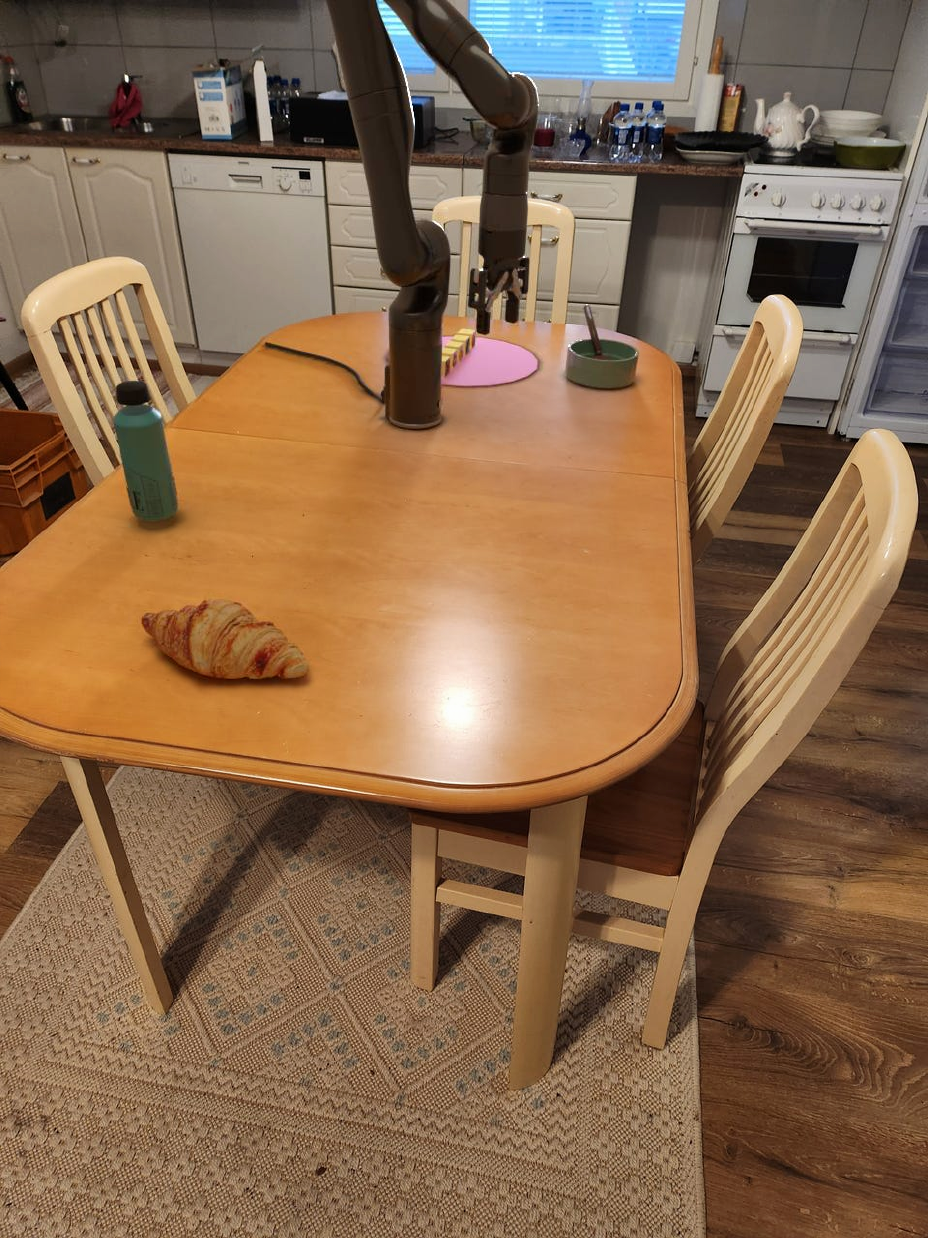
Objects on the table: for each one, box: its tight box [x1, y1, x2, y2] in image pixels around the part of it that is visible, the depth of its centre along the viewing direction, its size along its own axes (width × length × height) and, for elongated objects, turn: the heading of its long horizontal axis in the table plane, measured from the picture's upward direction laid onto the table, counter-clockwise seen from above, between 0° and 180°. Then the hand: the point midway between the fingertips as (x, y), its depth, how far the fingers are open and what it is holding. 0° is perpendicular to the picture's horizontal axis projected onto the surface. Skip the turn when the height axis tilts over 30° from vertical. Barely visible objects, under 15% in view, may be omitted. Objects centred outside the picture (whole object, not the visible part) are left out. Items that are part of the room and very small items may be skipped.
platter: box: [387, 328, 539, 387], centre depth 184 cm, size 32×32×3 cm
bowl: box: [564, 338, 640, 389], centre depth 177 cm, size 14×14×6 cm
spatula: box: [582, 304, 611, 360], centre depth 179 cm, size 18×4×11 cm, turn 11°
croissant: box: [140, 598, 310, 680], centre depth 97 cm, size 21×10×8 cm, turn 71°
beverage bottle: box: [112, 380, 180, 522], centre depth 118 cm, size 6×7×20 cm
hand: (497, 327), depth 145 cm, fingers open, 8 cm apart
